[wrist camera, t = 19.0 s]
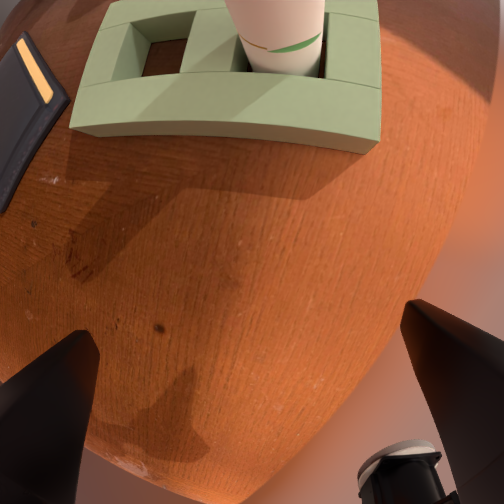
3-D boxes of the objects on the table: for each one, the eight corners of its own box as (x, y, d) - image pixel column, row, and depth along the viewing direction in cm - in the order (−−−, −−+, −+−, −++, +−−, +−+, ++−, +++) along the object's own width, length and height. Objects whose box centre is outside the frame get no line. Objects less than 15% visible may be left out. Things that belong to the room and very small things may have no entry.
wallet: (-37, 117, 20) (21, 23, 17) (-27, 119, 22) (31, 28, 19) (-12, 223, 20) (59, 98, 17) (0, 221, 22) (73, 103, 19)
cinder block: (130, 22, 17) (110, 3, 14) (367, 19, 14) (376, -9, 11) (98, 137, 19) (68, 128, 15) (365, 155, 16) (380, 141, 13)
